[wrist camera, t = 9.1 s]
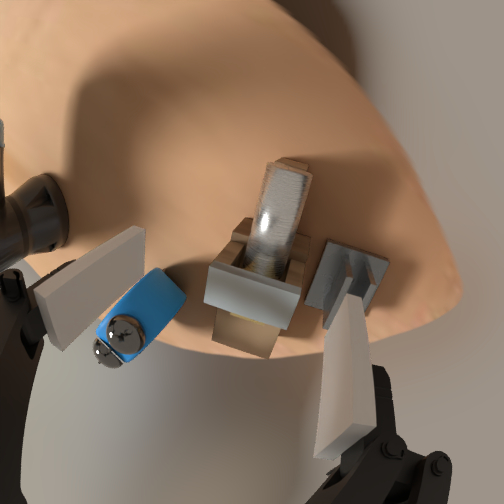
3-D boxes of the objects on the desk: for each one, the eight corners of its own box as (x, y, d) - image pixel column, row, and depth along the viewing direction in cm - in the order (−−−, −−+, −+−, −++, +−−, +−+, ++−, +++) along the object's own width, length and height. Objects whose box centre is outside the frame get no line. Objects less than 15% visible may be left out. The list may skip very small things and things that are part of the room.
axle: (284, 266, 28) (280, 286, 25) (247, 255, 28) (237, 273, 25) (312, 172, 24) (313, 179, 20) (270, 160, 24) (263, 165, 20)
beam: (274, 335, 38) (258, 393, 29) (223, 318, 39) (194, 371, 30) (330, 171, 28) (337, 190, 18) (260, 151, 29) (228, 160, 19)
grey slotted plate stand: (304, 300, 35) (300, 329, 30) (327, 238, 31) (328, 260, 26) (359, 316, 34) (363, 346, 29) (388, 258, 30) (399, 283, 25)
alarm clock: (171, 251, 37) (103, 312, 24) (202, 283, 38) (147, 355, 24) (133, 296, 43) (78, 351, 29) (159, 322, 44) (110, 383, 30)
